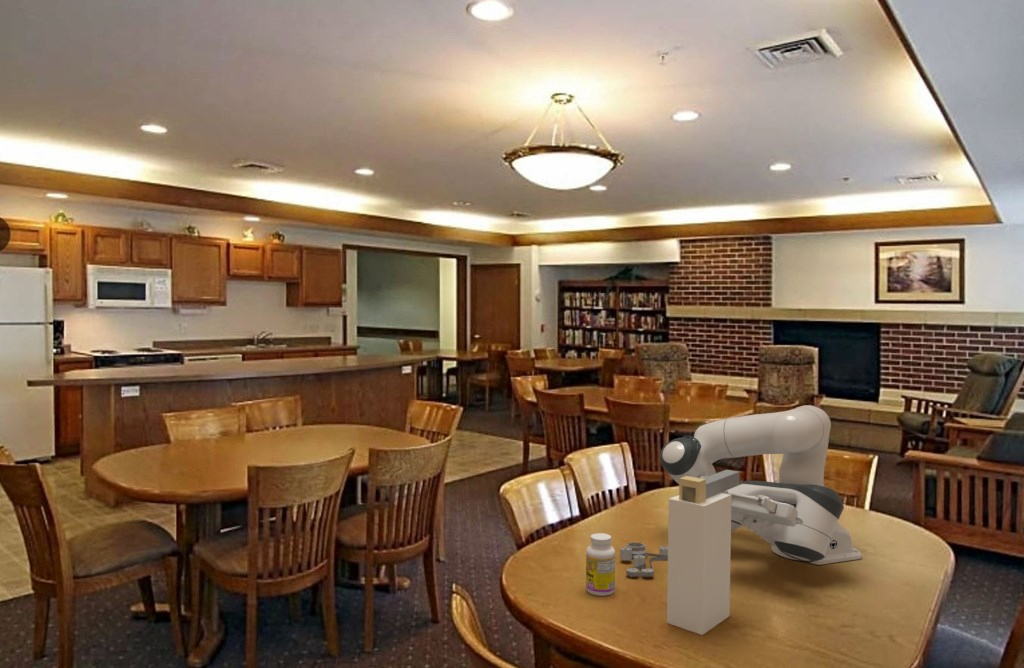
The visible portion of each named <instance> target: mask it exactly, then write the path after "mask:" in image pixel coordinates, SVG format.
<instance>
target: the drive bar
mask: <svg viewBox="0 0 1024 668" xmlns="http://www.w3.org/2000/svg"><path fill="white" fill-rule="evenodd" d="M738 485H740V471H736V470H730V469H724V470H722V471H718V473H716V474H713V475H711V476H708V477H705V478H702V479H701V478H696V477H690V476H685V477H682V478H679V484H678V489H679V490H678V494H679V500H684V501H688V502H693V503H698V504H699V503H701V502H704V501H706V499H707V498H709V497H711V496H714V495H716V494H719V493H721V492H724V491H726V490H729V489H731V488H733V487H736V486H738Z"/></svg>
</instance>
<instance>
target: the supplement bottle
mask: <svg viewBox="0 0 1024 668" xmlns="http://www.w3.org/2000/svg"><path fill="white" fill-rule="evenodd" d="M590 543H591V544H590V545H589V546H588V547H587V548H586V551H585V552H586V555H585V557H586V558H585V559H586V560H585V561H586V562H585V563H586V564H585V566H586V567H585V589H586V591H587V592H588V594H589V593H590V594H591V595H593V596H596V595H597V596H598V597H604V596H605V597H606V596H610V595H611V596H612V595H613V594H614V592H615V589H616V550H615V548H614V547H613V546H612V545H611V543H612V535H610V534H607V533H603V532H601V533H600V532H599V533H597V532H596V533H592V534H591V535H590Z"/></svg>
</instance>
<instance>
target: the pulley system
mask: <svg viewBox="0 0 1024 668" xmlns="http://www.w3.org/2000/svg"><path fill="white" fill-rule="evenodd" d="M658 549H659V550H658V551H659V554H658V553H650V552H648V551H647V549H646V544H645V543H641V542H628V543H626V546H621V547H619V558H620V560H622V561H632V560H633V563H632V564H633V565H632V566H634V567H630V568H629V567H628V568H626V569H625V572H626V575H627V576H629V577H630V578H632V577H633V578H634V577H635V578H636V577H646V578H649V577H654V575H655V570H654V567H653V564H652V562H659V561H662V562H663V561H668V545H667V546H665V545H662V546H659V548H658ZM647 556H650V558H649V564H650V568H646V567H647V563H646V559H647ZM639 570H640V571H641V572H640V571H639Z"/></svg>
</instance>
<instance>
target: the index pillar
mask: <svg viewBox="0 0 1024 668" xmlns="http://www.w3.org/2000/svg"><path fill="white" fill-rule="evenodd" d="M667 516H668V518H667V519H668V520H667V521H668V522H667V524H668V528H667V531H668V532H667V546H668V560H667V592H666V593H667V597H666V598H667V599H666V602H667V603H666V605H667V606H666V608H667V609H666V611H667V612H666V623H667V624H669V625H672V626H675V627H678V628H681V629H683V630H686V631H689V632H692V633H695V634H698V635H701V636H703V635H705V634H706V633H707V632H709V631H711V630H712V629H713V628H714V627H716V626H718V625H720V623H722V622H723V621H725V620H727V618H729V617H730V613H731V612H730V610H731V607H730V606H731V605H730V603H731V602H730V601H731V556H732V555H731V551H732V550H731V549H732V548H731V546H732V544H731V543H732V542H731V541H732V539H731V537H732V531H731V495H730V494H725V493H719V494H716V495H714V496H711V497H709V498H707V499H706V501H704V502H701V503H699V504H698V503H693V502H688V501H684V500H679V495H675V496H673V497H670V498H668V515H667Z"/></svg>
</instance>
